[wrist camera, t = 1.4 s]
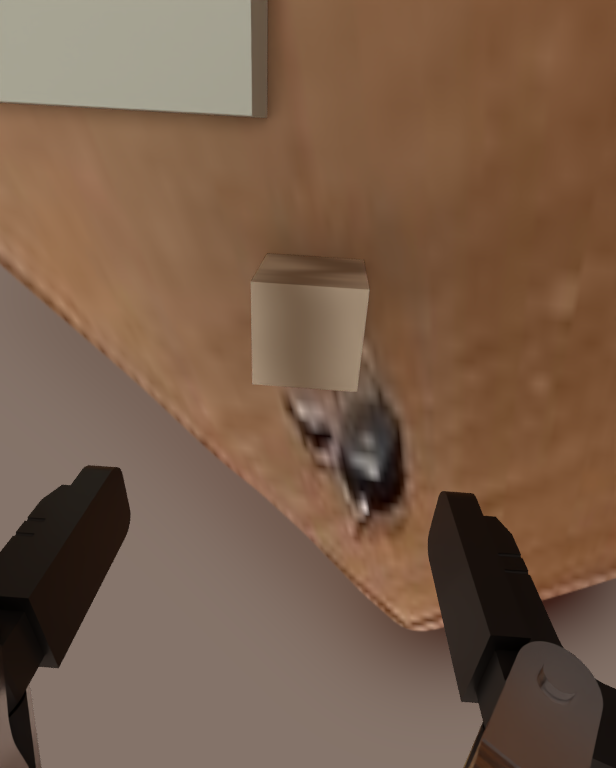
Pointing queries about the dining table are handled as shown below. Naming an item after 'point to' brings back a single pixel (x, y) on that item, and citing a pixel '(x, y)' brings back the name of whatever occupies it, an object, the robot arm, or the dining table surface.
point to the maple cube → (308, 321)
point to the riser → (136, 55)
